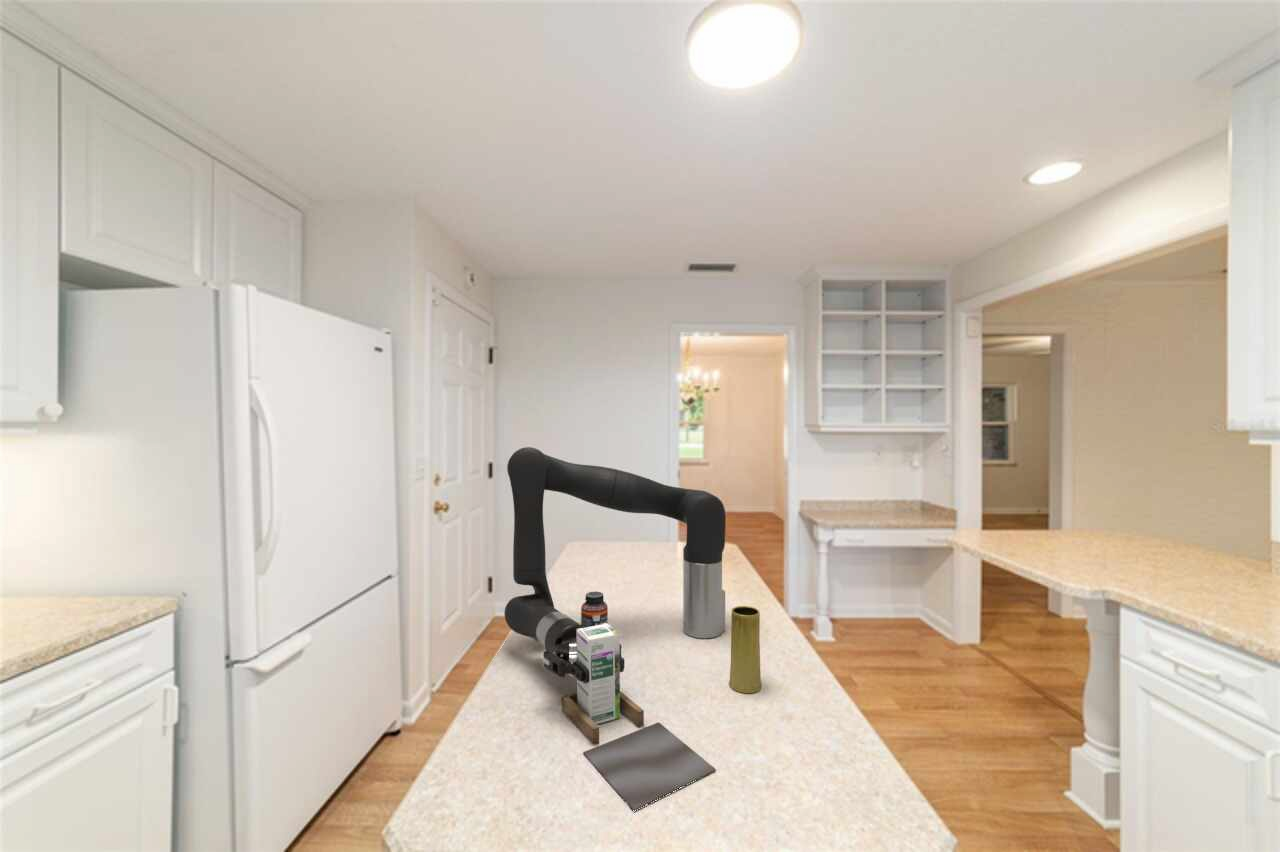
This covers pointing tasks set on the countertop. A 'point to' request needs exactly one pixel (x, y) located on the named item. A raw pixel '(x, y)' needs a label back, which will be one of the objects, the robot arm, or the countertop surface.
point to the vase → (745, 650)
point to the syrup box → (599, 672)
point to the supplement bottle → (594, 610)
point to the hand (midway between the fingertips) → (605, 671)
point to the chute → (638, 756)
